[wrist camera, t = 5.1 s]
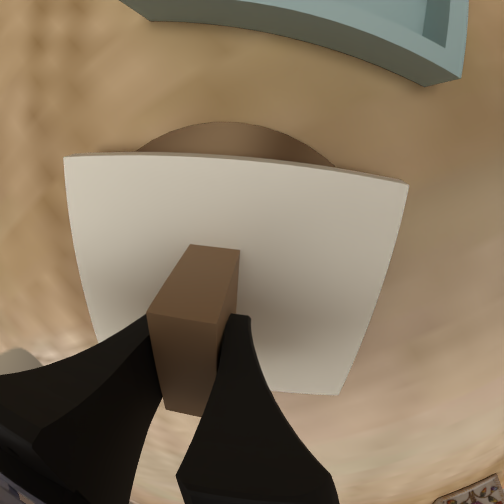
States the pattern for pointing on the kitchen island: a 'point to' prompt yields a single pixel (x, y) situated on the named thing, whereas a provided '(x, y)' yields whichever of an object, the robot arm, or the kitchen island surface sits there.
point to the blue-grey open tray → (345, 28)
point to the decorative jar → (476, 493)
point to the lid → (233, 261)
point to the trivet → (235, 143)
